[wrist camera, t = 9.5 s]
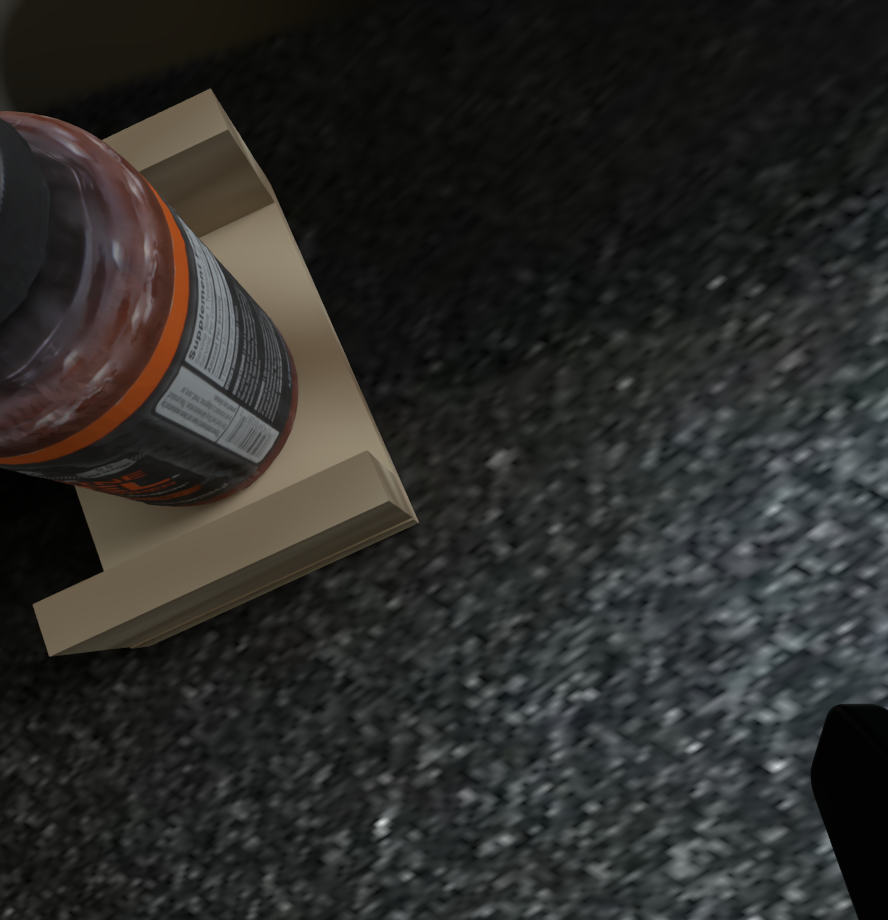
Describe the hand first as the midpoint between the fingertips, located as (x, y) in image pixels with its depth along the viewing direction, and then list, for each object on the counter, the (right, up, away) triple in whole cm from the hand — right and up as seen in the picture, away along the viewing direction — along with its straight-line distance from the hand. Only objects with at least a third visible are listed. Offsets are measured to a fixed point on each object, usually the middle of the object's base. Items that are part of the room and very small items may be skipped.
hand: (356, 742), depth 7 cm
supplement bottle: (-6, +4, +14) cm, 16 cm away
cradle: (-6, +4, +15) cm, 17 cm away
